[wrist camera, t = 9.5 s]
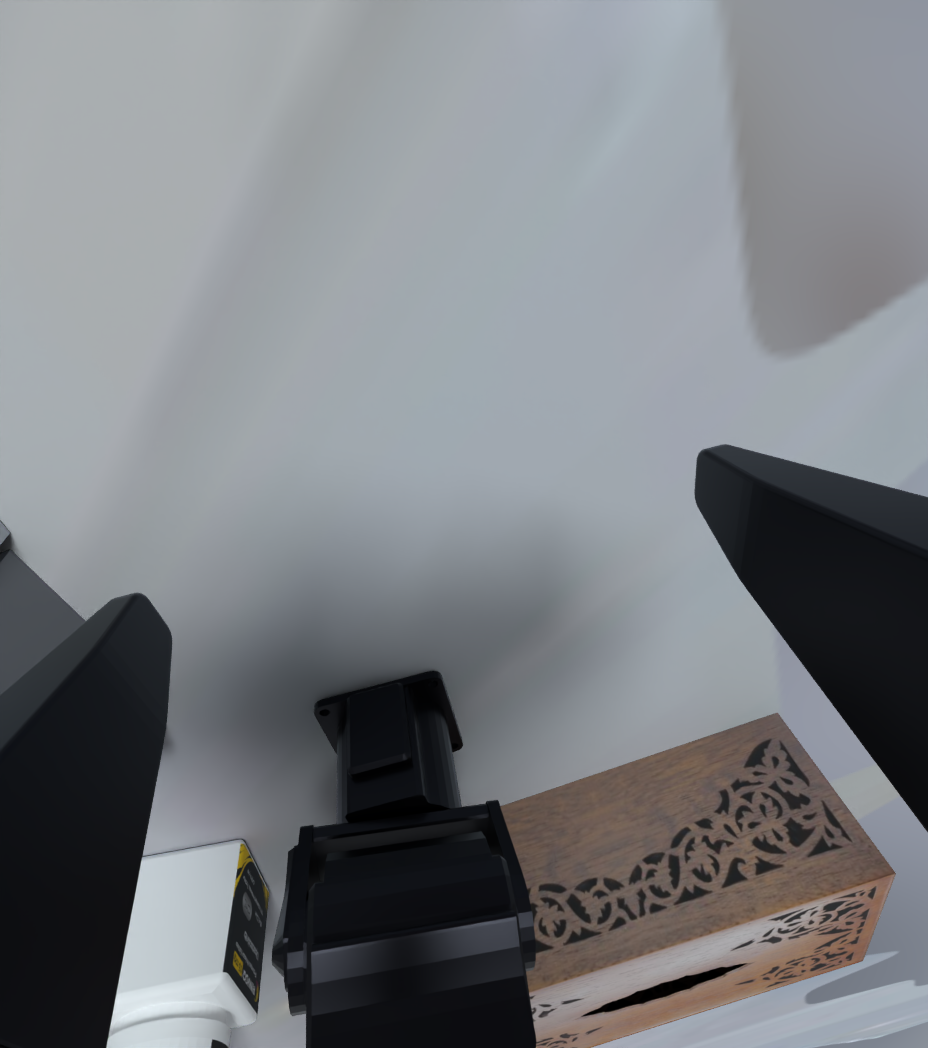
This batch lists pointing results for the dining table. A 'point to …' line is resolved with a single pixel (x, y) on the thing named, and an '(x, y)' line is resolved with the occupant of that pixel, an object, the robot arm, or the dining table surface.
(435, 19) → the dining table surface
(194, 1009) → the medicine bottle
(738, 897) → the tissue box cover
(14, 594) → the gray cuboid pillar
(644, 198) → the dining table surface
